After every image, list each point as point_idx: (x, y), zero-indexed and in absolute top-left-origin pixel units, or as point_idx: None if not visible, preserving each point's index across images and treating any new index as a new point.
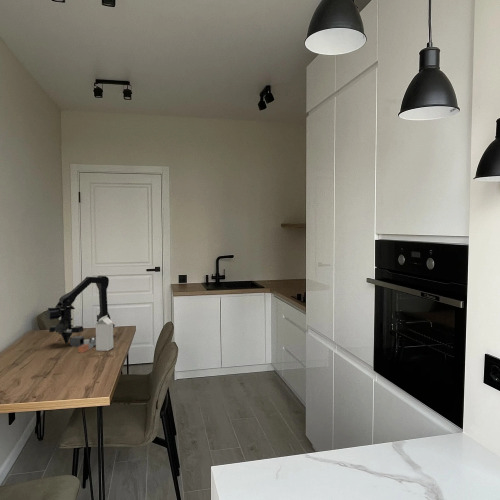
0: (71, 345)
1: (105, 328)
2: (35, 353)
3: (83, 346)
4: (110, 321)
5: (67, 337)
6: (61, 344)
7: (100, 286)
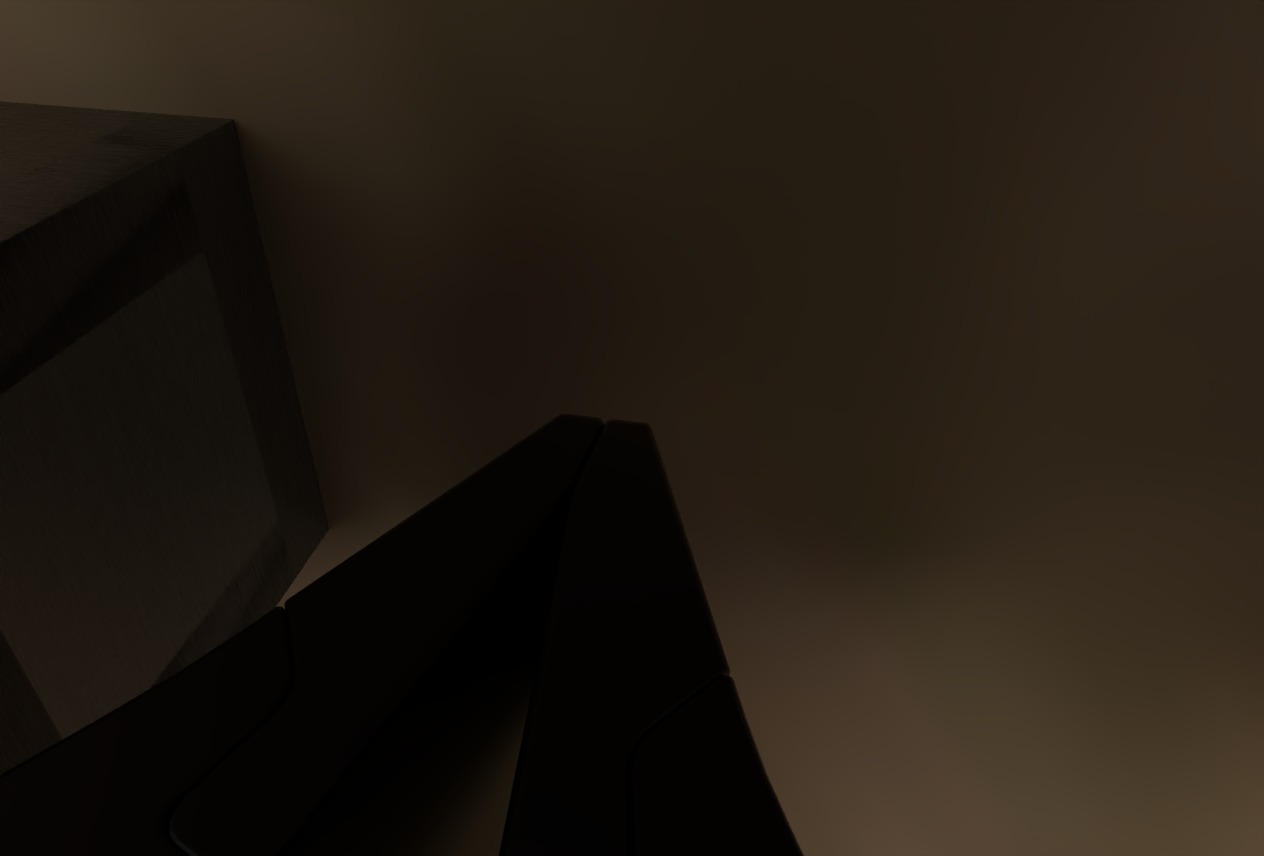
0: (97, 131)
1: None
2: None
3: None
4: None
5: (196, 671)
6: (989, 514)
7: None
